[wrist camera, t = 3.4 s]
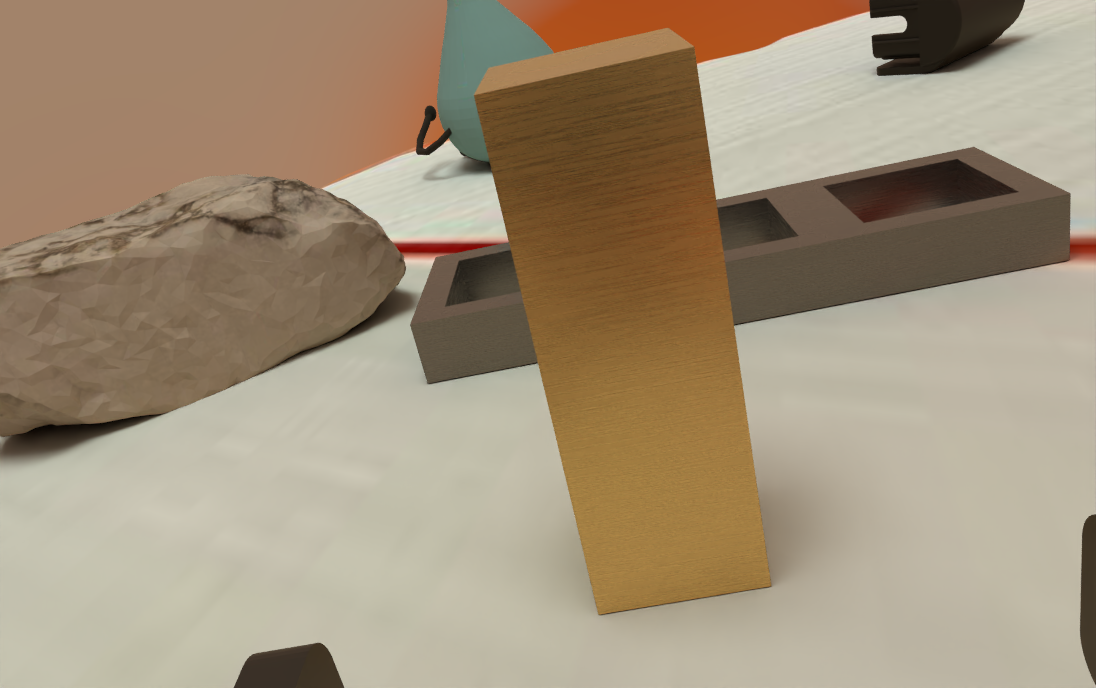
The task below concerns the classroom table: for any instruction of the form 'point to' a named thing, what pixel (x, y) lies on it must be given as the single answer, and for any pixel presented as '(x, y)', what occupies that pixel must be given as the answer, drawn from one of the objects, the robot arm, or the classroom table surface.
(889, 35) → the end cap
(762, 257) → the rail
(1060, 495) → the classroom table surface
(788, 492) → the classroom table surface
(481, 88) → the golden brown rectangular block
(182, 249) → the decorative stone
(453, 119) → the toy
